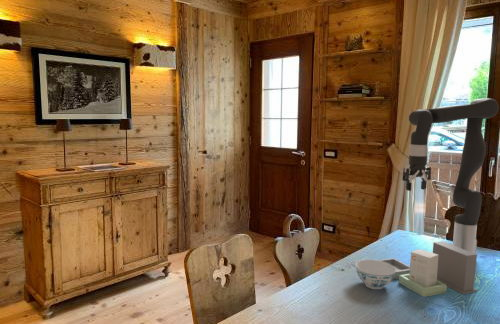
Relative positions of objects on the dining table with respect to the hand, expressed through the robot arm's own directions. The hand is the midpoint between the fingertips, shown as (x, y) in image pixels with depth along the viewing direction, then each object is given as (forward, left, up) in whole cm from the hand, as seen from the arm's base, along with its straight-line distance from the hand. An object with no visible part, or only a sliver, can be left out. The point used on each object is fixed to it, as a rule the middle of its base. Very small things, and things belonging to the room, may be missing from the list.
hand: (416, 189), depth 176 cm
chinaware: (+35, +18, -33) cm, 51 cm away
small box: (+17, +25, -33) cm, 44 cm away
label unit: (+4, +26, -33) cm, 42 cm away
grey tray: (+18, +9, -33) cm, 38 cm away
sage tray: (+18, +25, -33) cm, 45 cm away
